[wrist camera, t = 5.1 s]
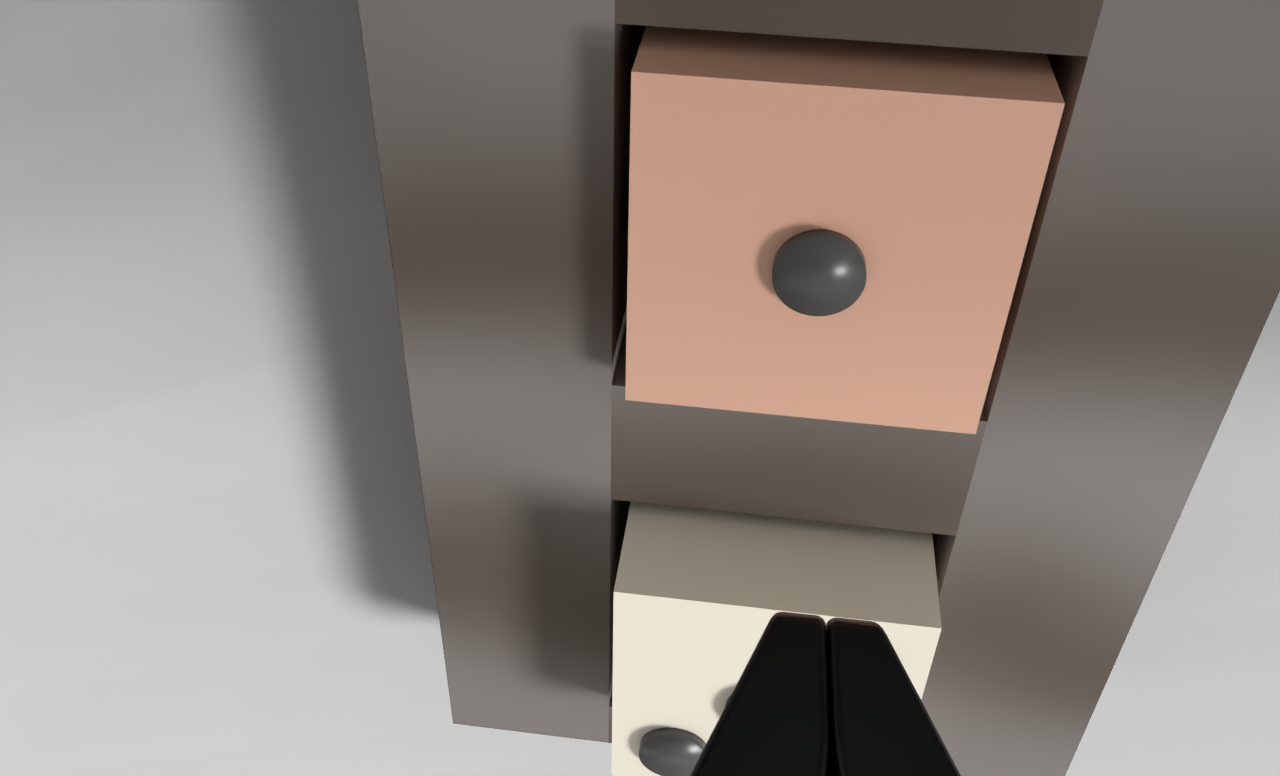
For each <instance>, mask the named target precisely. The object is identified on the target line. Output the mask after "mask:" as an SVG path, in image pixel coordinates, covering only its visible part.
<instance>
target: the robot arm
mask: <svg viewBox="0 0 1280 776" xmlns="http://www.w3.org/2000/svg"><path fill="white" fill-rule="evenodd" d="M690 776H961V774H960V772H959V770H958V769H957V767H956V765H955V763H954V761H953V759H952V757H951V755H950V753H949V752H948V750H947V748H946V746H945V744H944V742H943V740H942V738H941V736H940V735H939V733H938V731H937V729H936V727H935V725H934V723H933V721H932V719H931V718H930V716H929V714H928V712H927V710H926V708H925V706H924V704H923V702H922V701H921V699H920V697H919V695H918V693H917V691H916V689H915V687H914V685H913V684H912V682H911V680H910V678H909V676H908V674H907V672H906V670H905V668H904V667H903V665H902V663H901V661H900V659H899V657H898V655H897V653H896V651H895V650H894V648H893V646H892V644H891V642H890V640H889V638H888V636H887V635H886V633H885V631H884V630H883V628H882V627H881V626H880V625H879V624H877V623H876V622H872V621H866V620H856V619H847V618H838V617H836V618H832V619H830V620H829V621H828V622H827V624H826V623H825V621H824V619H823V618H821V617H820V616H817V615H810V614H800V613H791V612H778V613H775V614H774V615H773V616H772V617H771V619H770V621H769V622H768V624H767V626H766V628H765V630H764V632H763V634H762V636H761V638H760V640H759V642H758V644H757V646H756V648H755V650H754V652H753V654H752V656H751V658H750V659H749V661H748V663H747V665H746V667H745V669H744V671H743V673H742V675H741V677H740V679H739V681H738V683H737V685H736V687H735V689H734V691H733V693H732V695H731V697H730V698H729V700H728V702H727V704H726V706H725V708H724V710H723V712H722V714H721V716H720V718H719V720H718V722H717V724H716V726H715V728H714V730H713V732H712V734H711V735H710V737H709V739H708V741H707V743H706V745H705V747H704V749H703V751H702V753H701V755H700V757H699V759H698V761H697V763H696V765H695V767H694V769H693V771H692V772H691V774H690Z"/></svg>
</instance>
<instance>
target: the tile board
mask: <svg viewBox="0 0 1280 776" xmlns="http://www.w3.org/2000/svg"><path fill="white" fill-rule="evenodd" d="M358 8H359V15H360V23H361V30H362V38H363V46H364V53H365V61H366V68H367V76H368V83H369V91H370V98H371V106H372V114H373V121H374V129H375V136H376V144H377V151H378V159H379V166H380V174H381V181H382V189H383V197H384V204H385V212H386V219H387V227H388V234H389V242H390V249H391V257H392V265H393V272H394V280H395V287H396V295H397V302H398V310H399V317H400V325H401V333H402V340H403V348H404V355H405V363H406V370H407V378H408V385H409V393H410V400H411V408H412V416H413V423H414V431H415V438H416V446H417V453H418V461H419V468H420V476H421V484H422V491H423V499H424V506H425V514H426V521H427V529H428V536H429V544H430V552H431V559H432V567H433V574H434V582H435V589H436V597H437V604H438V612H439V619H440V627H441V635H442V642H443V650H444V657H445V665H446V672H447V680H448V687H449V695H450V703H451V710H452V718H453V723H454V724H462V725H470V726H479V727H487V728H495V729H503V730H511V731H519V732H527V733H535V734H543V735H551V736H559V737H567V738H575V739H584V740H592V741H600V742H608V743H612V686H613V599H614V587H615V582H616V576H617V571H618V566H619V561H620V556H621V550H622V545H623V540H624V535H625V529H626V524H627V519H628V508H629V501H631V502H640V503H650V504H659V505H669V506H678V507H688V508H697V509H707V510H716V511H726V512H735V513H745V514H754V515H764V516H773V517H783V518H792V519H801V520H811V521H820V522H830V523H839V524H849V525H858V526H868V527H877V528H887V529H896V530H906V531H915V532H925V533H932V536H933V546H934V556H935V566H936V576H937V586H938V596H939V606H940V616H941V626H942V629H941V633H940V636H939V640H938V643H937V647H936V650H935V654H934V657H933V661H932V664H931V668H930V671H929V675H928V678H927V682H926V685H925V689H924V692H923V696H922V699H921V701H922V702H923V704H924V706H925V708H926V710H927V712H928V714H929V716H930V718H931V719H932V721H933V723H934V725H935V727H936V729H937V731H938V733H939V735H940V736H941V738H942V740H943V742H944V744H945V746H946V748H947V750H948V752H949V753H950V755H951V757H952V759H953V761H954V763H955V765H956V767H957V769H958V770H959V772H960V774H961V776H1065V774H1066V772H1067V770H1068V768H1069V765H1070V763H1071V761H1072V759H1073V756H1074V754H1075V752H1076V750H1077V747H1078V745H1079V743H1080V741H1081V738H1082V736H1083V734H1084V732H1085V729H1086V727H1087V725H1088V723H1089V720H1090V718H1091V716H1092V713H1093V711H1094V709H1095V707H1096V704H1097V702H1098V700H1099V698H1100V695H1101V693H1102V691H1103V689H1104V686H1105V684H1106V682H1107V680H1108V677H1109V675H1110V673H1111V671H1112V668H1113V666H1114V664H1115V662H1116V659H1117V657H1118V655H1119V653H1120V650H1121V648H1122V646H1123V643H1124V641H1125V639H1126V637H1127V634H1128V632H1129V630H1130V628H1131V625H1132V623H1133V621H1134V619H1135V616H1136V614H1137V612H1138V610H1139V607H1140V605H1141V603H1142V601H1143V598H1144V596H1145V594H1146V592H1147V589H1148V587H1149V585H1150V582H1151V580H1152V578H1153V576H1154V573H1155V571H1156V569H1157V567H1158V564H1159V562H1160V560H1161V558H1162V555H1163V553H1164V551H1165V549H1166V546H1167V544H1168V542H1169V540H1170V537H1171V535H1172V533H1173V531H1174V528H1175V526H1176V524H1177V521H1178V519H1179V517H1180V515H1181V512H1182V510H1183V508H1184V506H1185V503H1186V501H1187V499H1188V497H1189V494H1190V492H1191V490H1192V488H1193V485H1194V483H1195V481H1196V479H1197V476H1198V474H1199V472H1200V470H1201V467H1202V465H1203V463H1204V460H1205V458H1206V456H1207V454H1208V451H1209V449H1210V447H1211V445H1212V442H1213V440H1214V438H1215V436H1216V433H1217V431H1218V429H1219V427H1220V424H1221V422H1222V420H1223V418H1224V415H1225V413H1226V411H1227V409H1228V406H1229V404H1230V402H1231V399H1232V397H1233V395H1234V393H1235V390H1236V388H1237V386H1238V384H1239V381H1240V379H1241V377H1242V375H1243V372H1244V370H1245V368H1246V366H1247V363H1248V361H1249V359H1250V357H1251V354H1252V352H1253V350H1254V348H1255V345H1256V343H1257V341H1258V338H1259V336H1260V334H1261V332H1262V329H1263V327H1264V325H1265V323H1266V320H1267V318H1268V316H1269V314H1270V311H1271V309H1272V307H1273V305H1274V302H1275V300H1276V298H1277V296H1278V293H1279V291H1280V0H358ZM639 25H643V26H657V27H671V28H686V29H700V30H714V31H729V32H743V33H757V34H772V35H786V36H800V37H815V38H829V39H843V40H858V41H872V42H886V43H901V44H915V45H929V46H944V47H958V48H972V49H987V50H1001V51H1015V52H1030V53H1044V54H1046V55H1047V57H1048V60H1049V62H1050V65H1051V68H1052V70H1053V73H1054V76H1055V78H1056V81H1057V84H1058V86H1059V89H1060V92H1061V94H1062V97H1063V100H1064V102H1065V105H1064V109H1063V113H1062V116H1061V120H1060V124H1059V128H1058V131H1057V135H1056V139H1055V142H1054V146H1053V150H1052V154H1051V157H1050V161H1049V165H1048V168H1047V172H1046V176H1045V179H1044V183H1043V187H1042V191H1041V194H1040V198H1039V202H1038V205H1037V209H1036V213H1035V216H1034V220H1033V224H1032V228H1031V231H1030V235H1029V239H1028V242H1027V246H1026V250H1025V254H1024V257H1023V261H1022V265H1021V268H1020V272H1019V276H1018V279H1017V283H1016V287H1015V291H1014V294H1013V298H1012V302H1011V305H1010V309H1009V313H1008V316H1007V320H1006V324H1005V328H1004V331H1003V335H1002V339H1001V342H1000V346H999V350H998V353H997V357H996V361H995V365H994V368H993V372H992V376H991V379H990V383H989V387H988V391H987V394H986V398H985V402H984V405H983V409H982V413H981V416H980V420H979V424H978V428H977V431H976V434H966V433H956V432H946V431H936V430H926V429H915V428H905V427H895V426H885V425H875V424H864V423H854V422H844V421H834V420H823V419H813V418H803V417H793V416H783V415H772V414H762V413H752V412H742V411H732V410H721V409H711V408H701V407H691V406H681V405H670V404H660V403H650V402H640V401H629V400H625V388H626V332H627V277H628V222H629V167H630V111H631V71H632V68H633V65H634V62H635V59H636V56H637V53H638V50H639Z"/></svg>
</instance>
